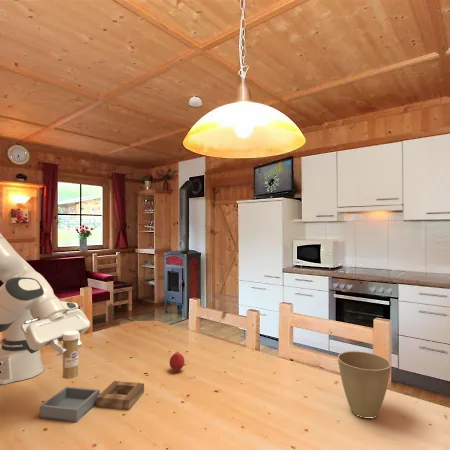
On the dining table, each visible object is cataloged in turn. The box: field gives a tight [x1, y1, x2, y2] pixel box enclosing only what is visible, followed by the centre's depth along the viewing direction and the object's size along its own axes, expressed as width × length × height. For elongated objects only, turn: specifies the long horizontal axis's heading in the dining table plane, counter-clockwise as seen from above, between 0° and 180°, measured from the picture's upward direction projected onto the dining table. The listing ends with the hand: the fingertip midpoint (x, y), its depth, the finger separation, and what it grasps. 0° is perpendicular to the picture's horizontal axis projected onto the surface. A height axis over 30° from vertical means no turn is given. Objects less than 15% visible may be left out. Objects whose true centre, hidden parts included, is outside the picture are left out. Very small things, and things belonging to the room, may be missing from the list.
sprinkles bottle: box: [62, 331, 79, 380], centre depth 100 cm, size 5×5×14 cm
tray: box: [39, 386, 101, 423], centre depth 100 cm, size 12×12×4 cm
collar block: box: [95, 380, 145, 411], centre depth 106 cm, size 11×11×3 cm
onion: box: [169, 350, 185, 373], centre depth 127 cm, size 6×6×8 cm
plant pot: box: [337, 350, 392, 417], centre depth 99 cm, size 15×15×16 cm
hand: (72, 349), depth 100 cm, fingers closed on sprinkles bottle, 4 cm apart
